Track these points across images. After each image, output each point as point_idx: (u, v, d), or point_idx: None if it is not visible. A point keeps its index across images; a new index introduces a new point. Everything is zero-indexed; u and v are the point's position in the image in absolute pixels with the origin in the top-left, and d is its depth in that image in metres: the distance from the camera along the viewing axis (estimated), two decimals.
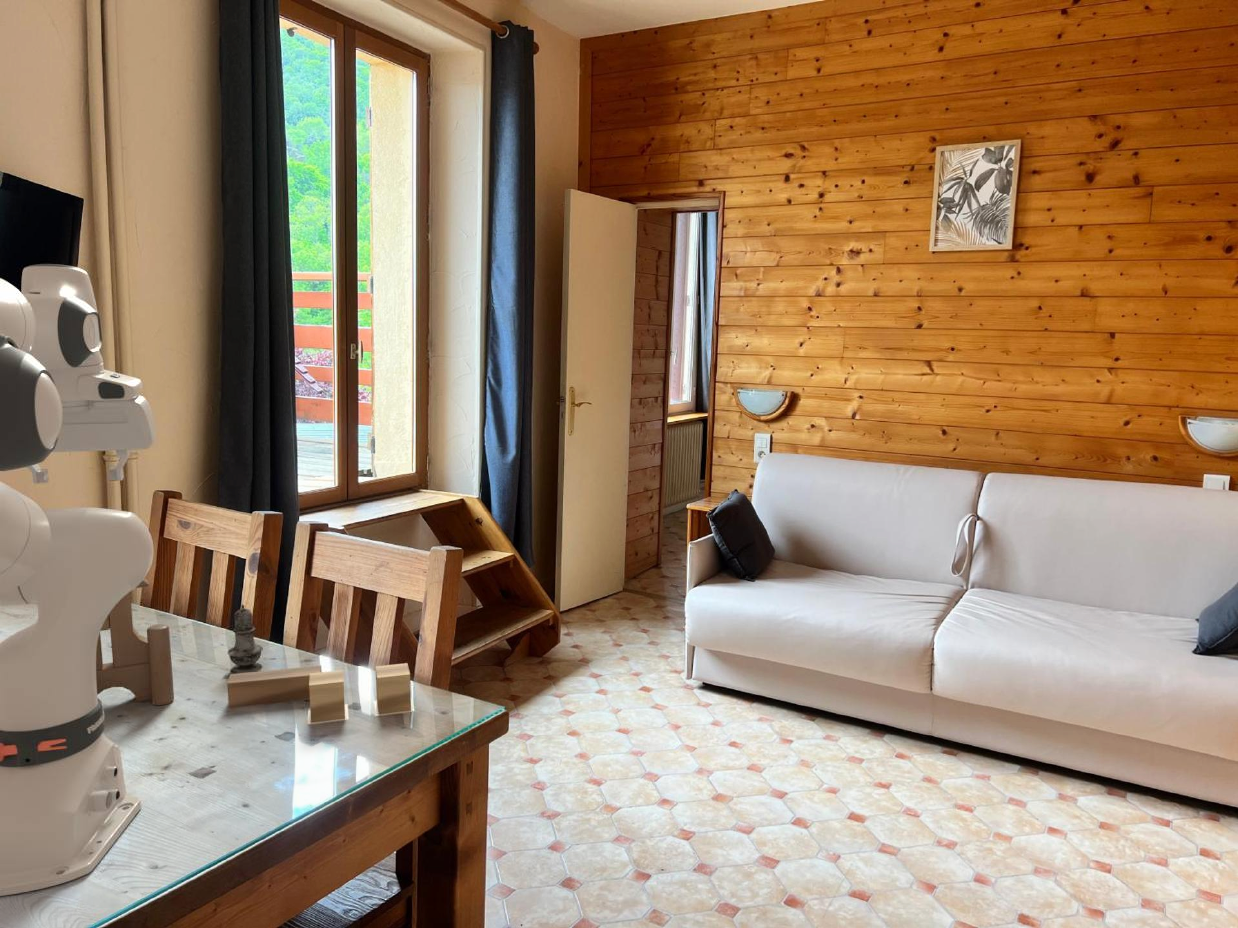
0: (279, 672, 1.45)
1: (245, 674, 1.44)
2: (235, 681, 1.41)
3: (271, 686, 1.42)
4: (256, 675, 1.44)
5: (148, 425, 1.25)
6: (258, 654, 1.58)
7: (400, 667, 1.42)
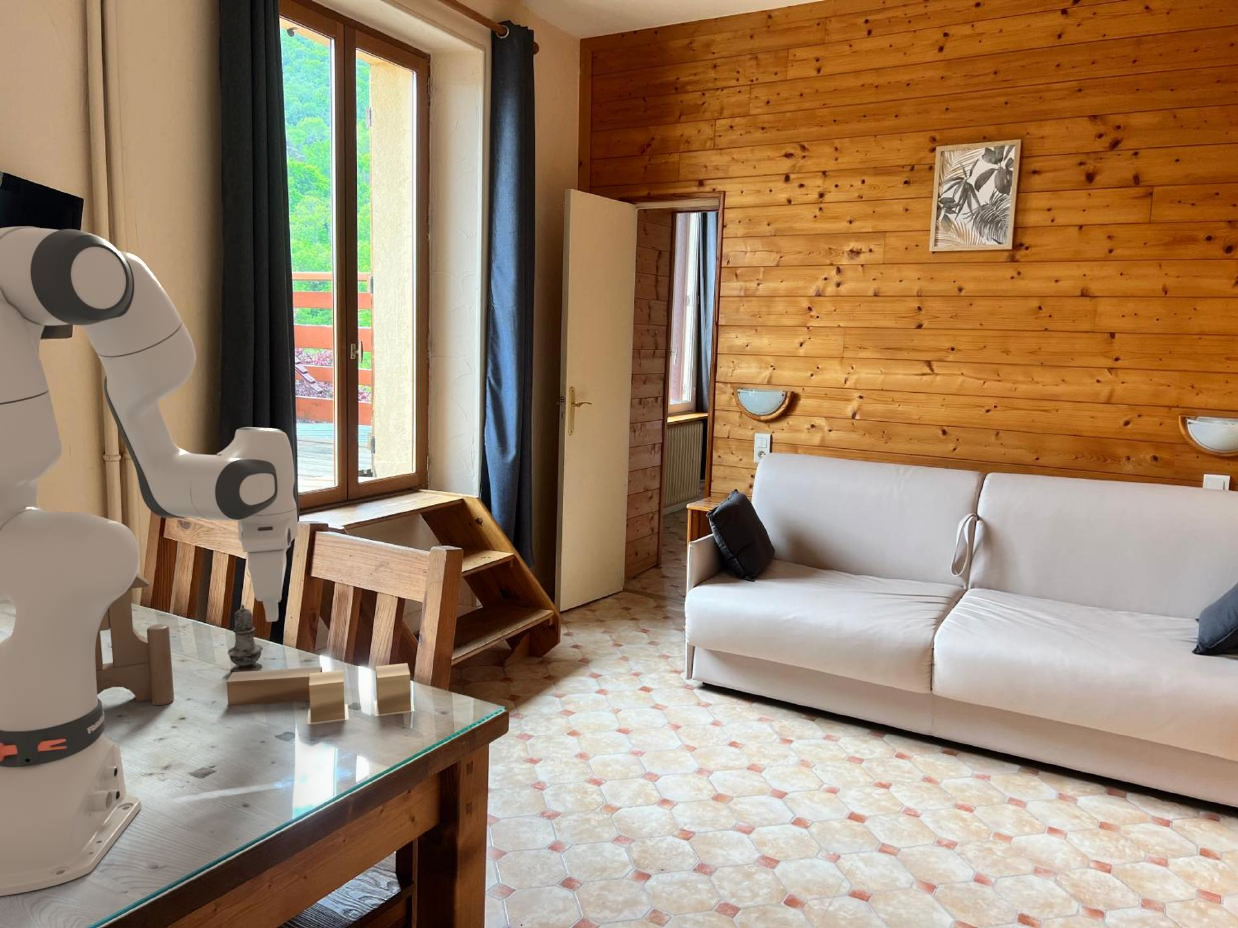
0: (279, 672, 1.45)
1: (246, 673, 1.45)
2: (235, 680, 1.42)
3: (270, 686, 1.42)
4: (257, 674, 1.44)
5: (253, 579, 1.32)
6: (258, 654, 1.58)
7: (400, 667, 1.42)
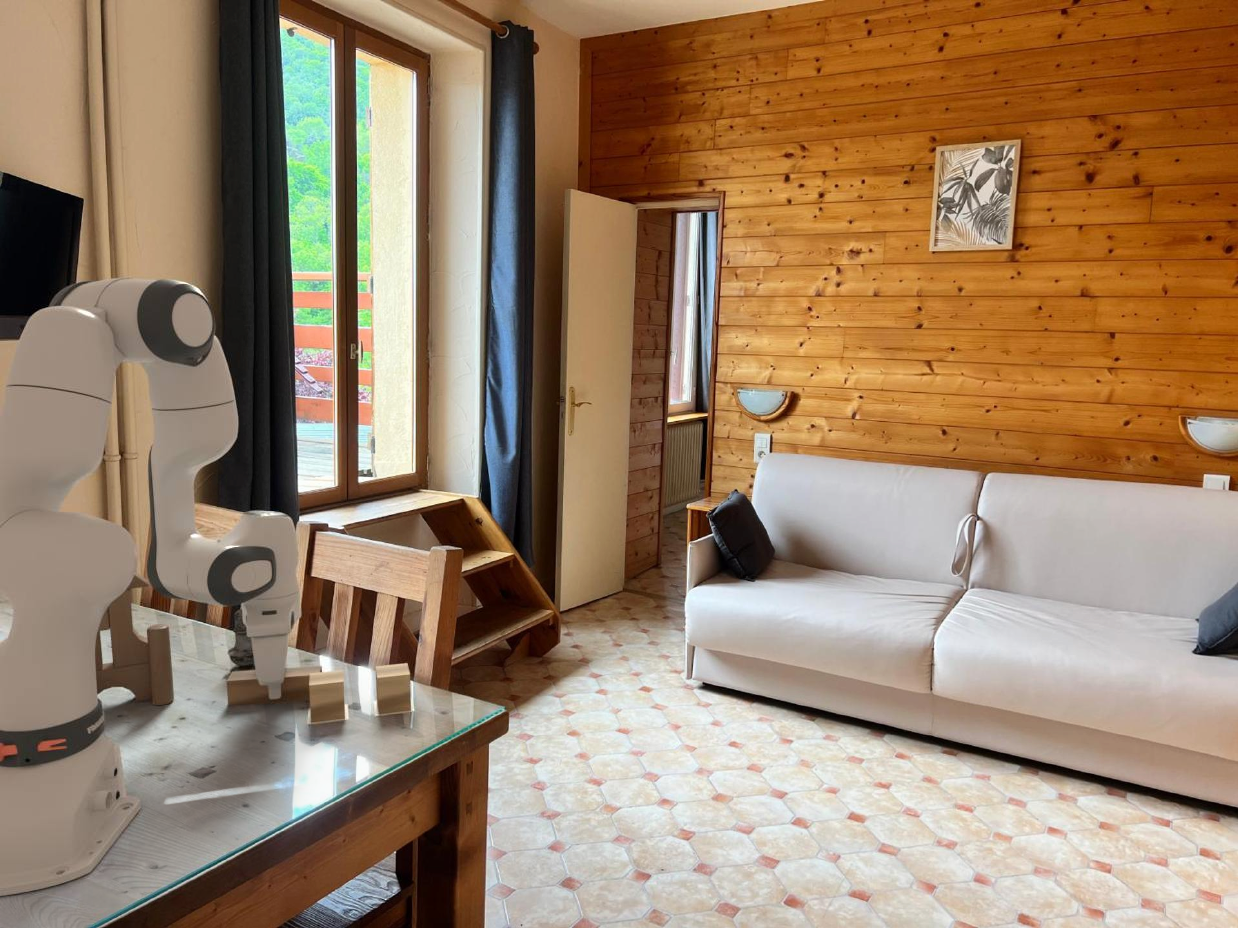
0: None
1: (246, 672, 1.45)
2: (234, 679, 1.42)
3: None
4: None
5: (256, 664, 1.34)
6: None
7: (400, 667, 1.42)
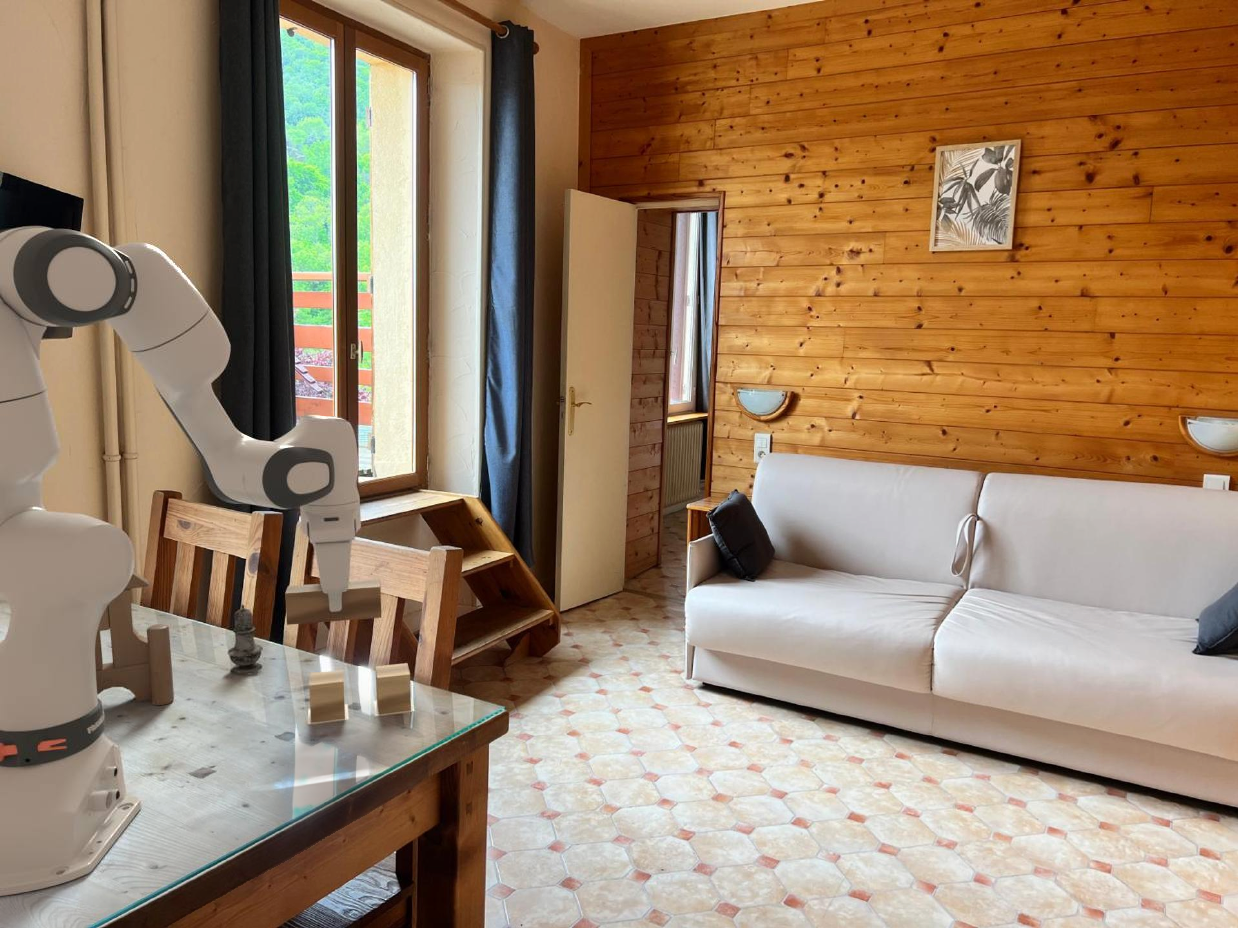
0: None
1: (303, 586, 1.39)
2: (293, 592, 1.36)
3: None
4: (314, 587, 1.39)
5: (320, 571, 1.28)
6: (258, 654, 1.58)
7: (400, 667, 1.42)
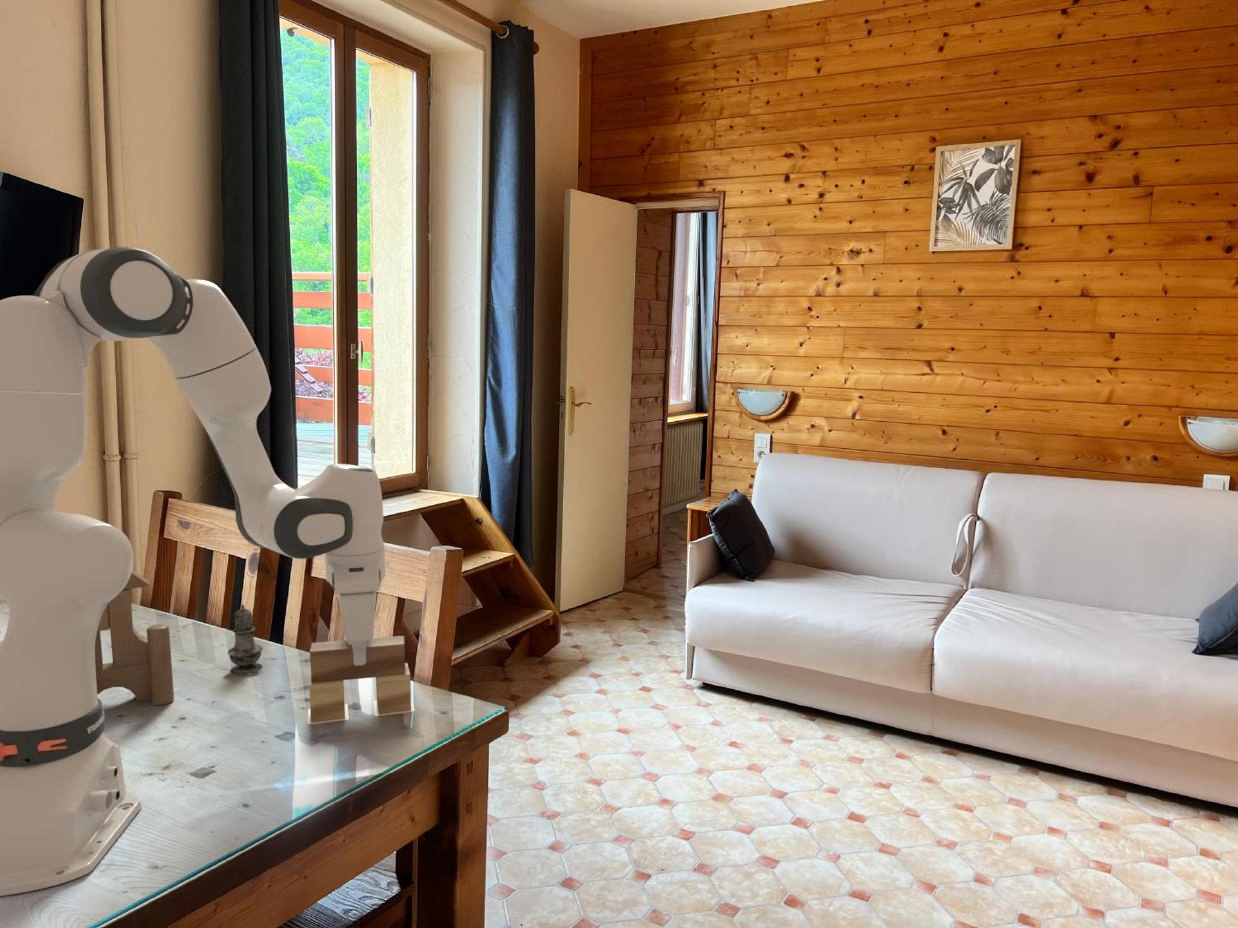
0: None
1: (327, 643, 1.39)
2: (318, 650, 1.36)
3: None
4: (338, 644, 1.38)
5: (345, 623, 1.28)
6: (258, 654, 1.58)
7: None
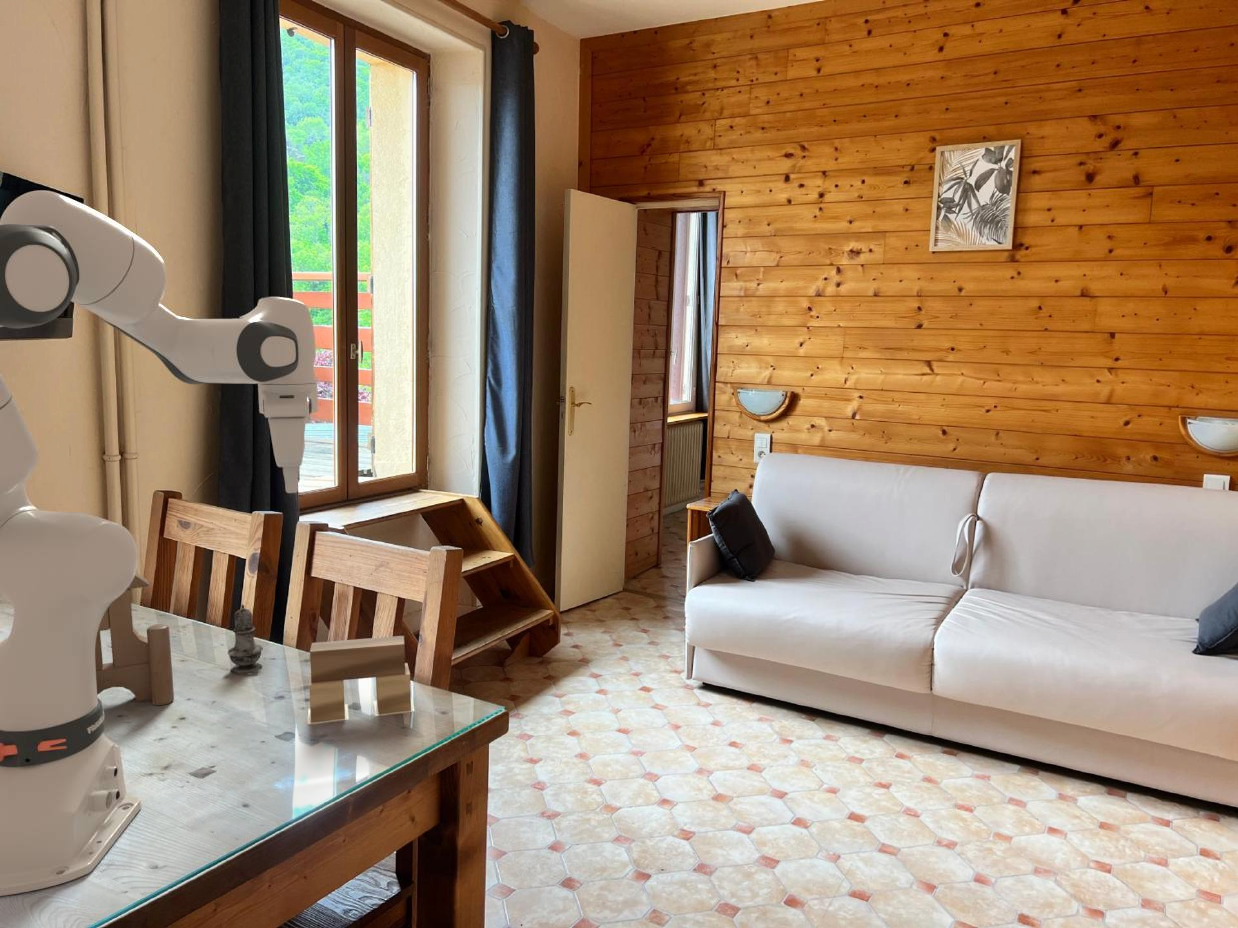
0: (362, 641, 1.39)
1: (327, 643, 1.39)
2: (318, 650, 1.36)
3: (354, 655, 1.37)
4: (338, 644, 1.38)
5: (274, 444, 1.32)
6: (258, 654, 1.58)
7: None
